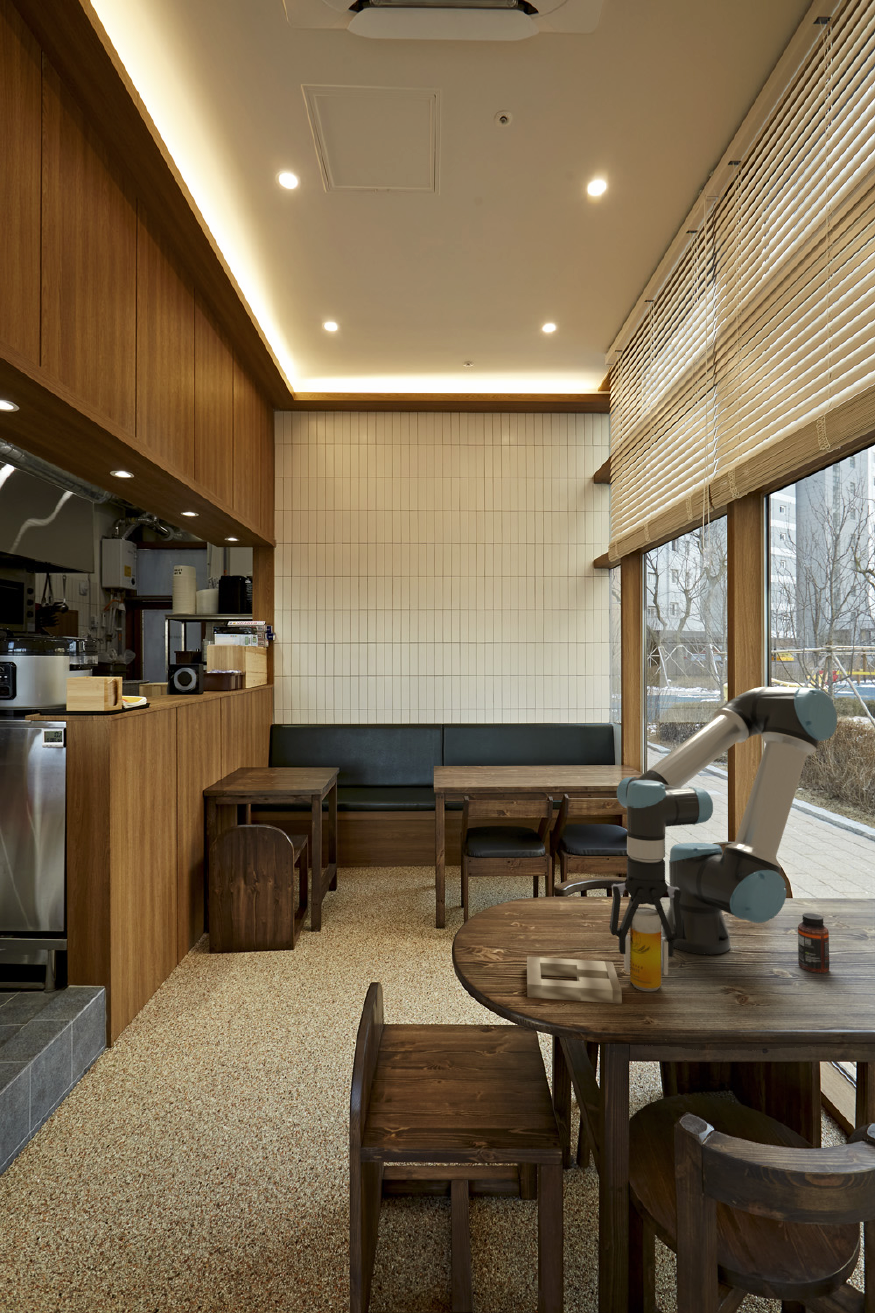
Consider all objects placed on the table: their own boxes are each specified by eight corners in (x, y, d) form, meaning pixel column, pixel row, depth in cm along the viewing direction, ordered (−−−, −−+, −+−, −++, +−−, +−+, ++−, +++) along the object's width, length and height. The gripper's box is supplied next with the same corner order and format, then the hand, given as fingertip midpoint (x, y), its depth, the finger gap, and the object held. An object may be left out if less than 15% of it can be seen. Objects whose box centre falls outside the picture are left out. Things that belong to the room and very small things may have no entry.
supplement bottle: (826, 964, 147) (825, 913, 147) (832, 976, 141) (832, 922, 142) (795, 960, 149) (795, 909, 149) (800, 971, 143) (800, 918, 144)
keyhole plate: (612, 974, 141) (612, 962, 141) (621, 1003, 128) (621, 990, 128) (526, 968, 143) (527, 956, 144) (527, 997, 131) (527, 984, 131)
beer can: (625, 979, 139) (625, 906, 139) (654, 978, 139) (654, 906, 140) (636, 993, 133) (637, 917, 133) (666, 992, 133) (666, 916, 134)
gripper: (691, 854, 139) (691, 966, 139) (594, 850, 142) (594, 960, 141) (700, 864, 132) (700, 982, 131) (598, 860, 134) (598, 975, 134)
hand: (645, 970), depth 136 cm, fingers open, 7 cm apart
